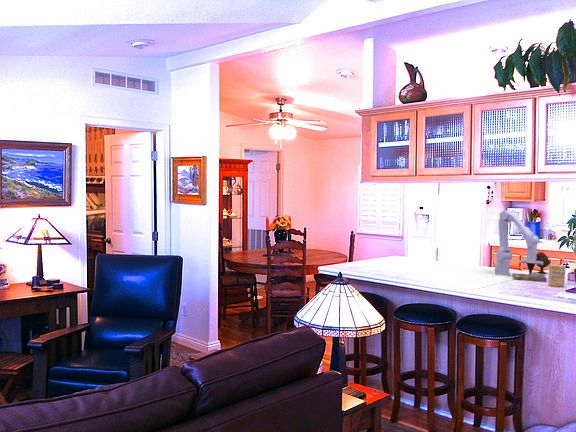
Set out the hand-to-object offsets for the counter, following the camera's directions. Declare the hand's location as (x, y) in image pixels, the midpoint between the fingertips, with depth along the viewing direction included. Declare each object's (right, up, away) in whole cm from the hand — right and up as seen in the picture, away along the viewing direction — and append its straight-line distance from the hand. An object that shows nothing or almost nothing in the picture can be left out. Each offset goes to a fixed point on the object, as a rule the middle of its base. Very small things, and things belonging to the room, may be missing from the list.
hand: (530, 274), depth 372 cm
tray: (+4, -3, -1) cm, 5 cm away
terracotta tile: (+6, -3, -2) cm, 6 cm away
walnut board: (-5, -3, +2) cm, 6 cm away
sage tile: (+1, -1, 0) cm, 2 cm away
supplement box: (+6, -5, -24) cm, 25 cm away
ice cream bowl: (+19, -2, +25) cm, 31 cm away
